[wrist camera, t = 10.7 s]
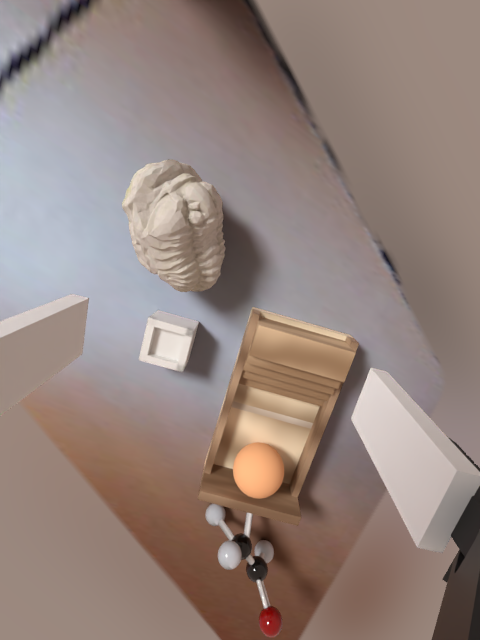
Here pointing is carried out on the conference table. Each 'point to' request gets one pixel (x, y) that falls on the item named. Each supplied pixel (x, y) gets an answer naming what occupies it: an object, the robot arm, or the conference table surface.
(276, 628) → the molecular model
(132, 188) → the fossil replica
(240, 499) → the wooden stepped tray
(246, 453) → the ball
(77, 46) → the conference table surface
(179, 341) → the white open box
